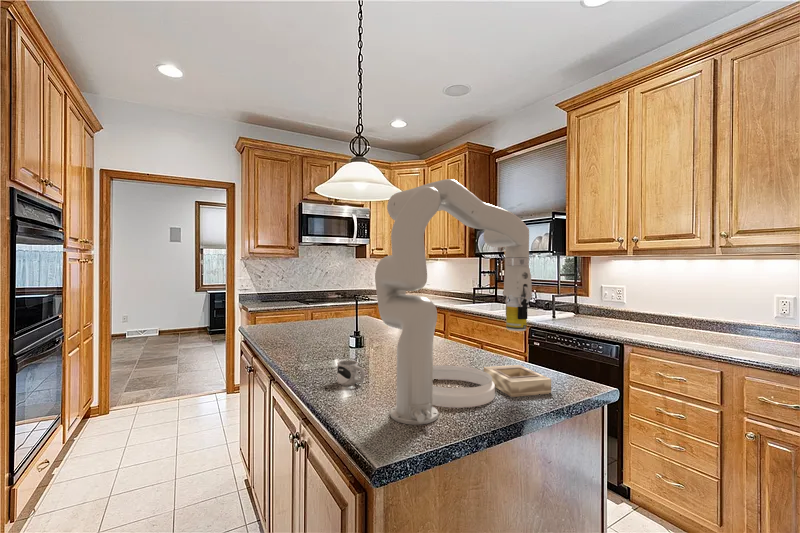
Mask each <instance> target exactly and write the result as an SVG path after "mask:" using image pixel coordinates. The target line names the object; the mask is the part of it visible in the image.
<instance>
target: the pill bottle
mask: <svg viewBox="0 0 800 533" xmlns="http://www.w3.org/2000/svg"><path fill="white" fill-rule="evenodd" d="M521 297H523V296H521ZM509 299H510V302H508V303H507V305H506V304H505V316H506V320H505V322H506V324H505V325H506V329H507V331H508V330H509V331H513V332H524V331H526V330H527V321H528V320H527V319H528V318H527V319H518V307H519V303H518V299H517V298H515V297H513V296H512V295H509ZM522 301H523V300H522Z"/></svg>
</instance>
